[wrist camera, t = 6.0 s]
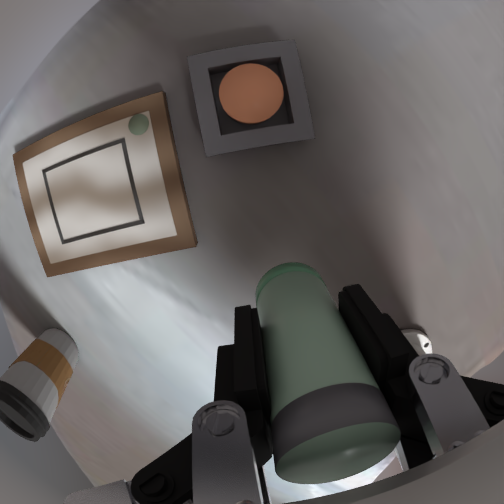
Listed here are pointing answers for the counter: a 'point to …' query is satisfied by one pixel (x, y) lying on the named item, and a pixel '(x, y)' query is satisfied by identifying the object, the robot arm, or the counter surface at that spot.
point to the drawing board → (106, 189)
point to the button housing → (250, 135)
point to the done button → (251, 93)
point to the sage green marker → (318, 383)
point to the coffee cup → (37, 383)
